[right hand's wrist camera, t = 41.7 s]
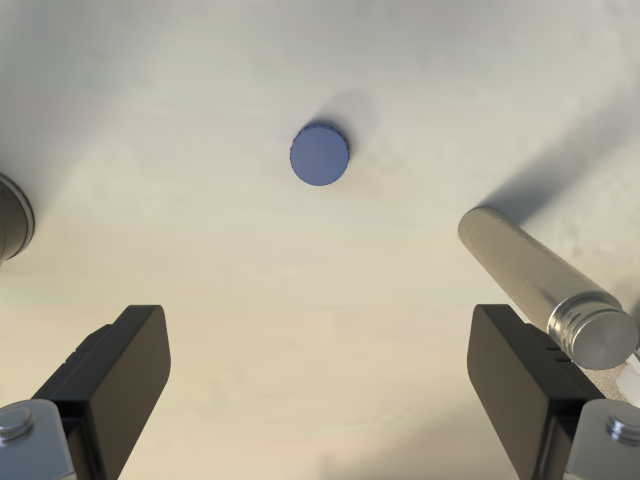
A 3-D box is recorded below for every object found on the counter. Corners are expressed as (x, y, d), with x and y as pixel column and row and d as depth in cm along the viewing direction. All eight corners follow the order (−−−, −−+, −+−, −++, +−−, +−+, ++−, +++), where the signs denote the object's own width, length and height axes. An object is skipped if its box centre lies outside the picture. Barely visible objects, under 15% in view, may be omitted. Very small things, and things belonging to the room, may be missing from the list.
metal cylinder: (449, 223, 42) (551, 333, 24) (491, 197, 41) (630, 292, 23) (471, 258, 44) (582, 389, 25) (511, 234, 43) (659, 352, 24)
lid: (347, 181, 41) (348, 186, 39) (291, 181, 41) (290, 186, 39) (348, 123, 39) (350, 126, 37) (289, 124, 39) (288, 126, 37)
